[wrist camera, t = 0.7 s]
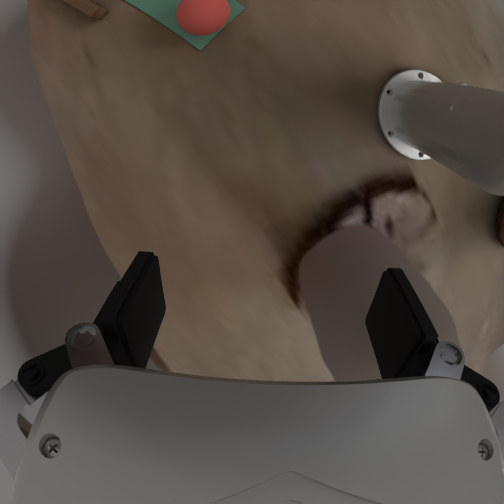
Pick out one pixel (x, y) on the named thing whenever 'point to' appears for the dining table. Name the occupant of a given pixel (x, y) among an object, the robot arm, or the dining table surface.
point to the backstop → (89, 8)
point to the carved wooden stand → (500, 225)
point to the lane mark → (164, 10)
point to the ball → (203, 15)
